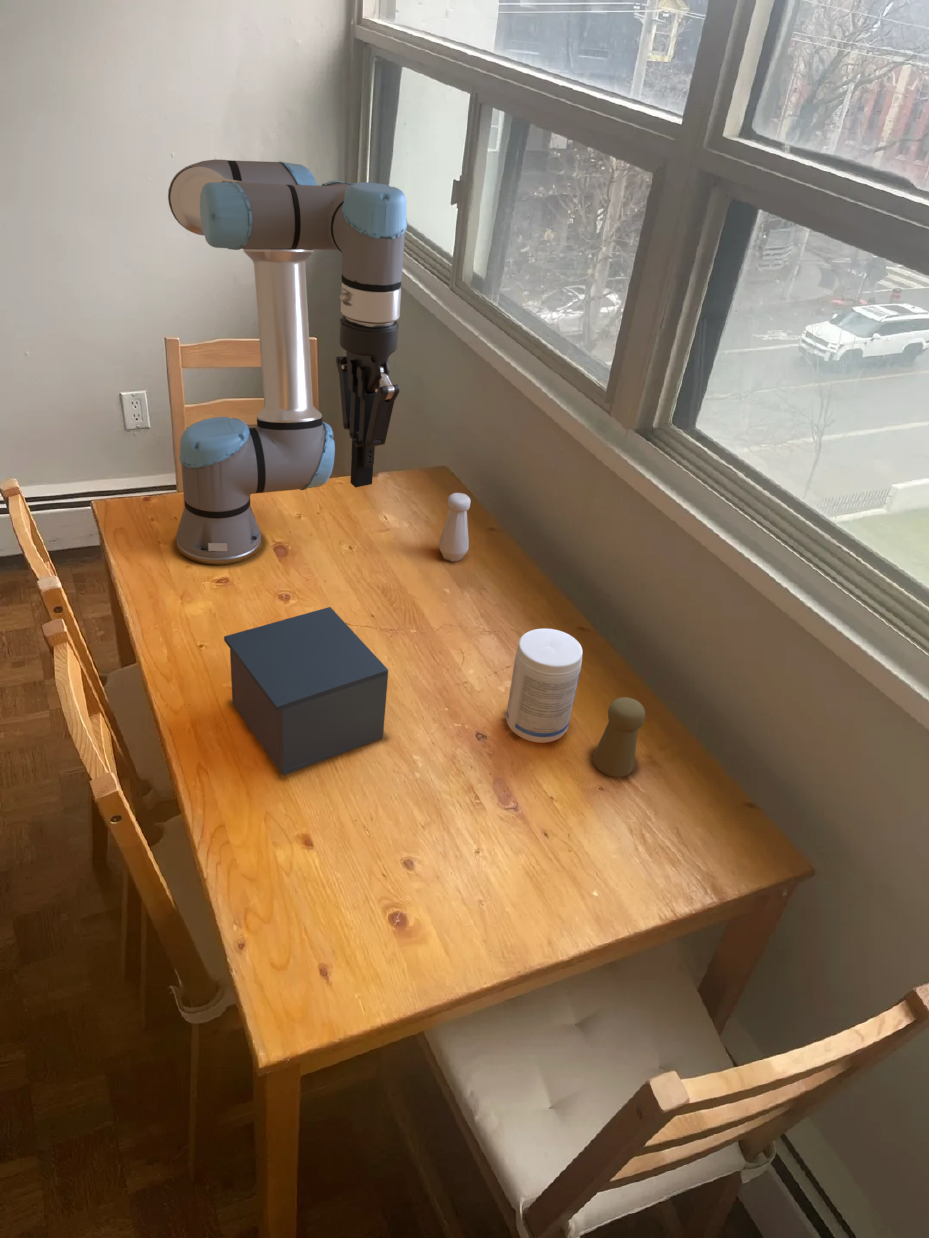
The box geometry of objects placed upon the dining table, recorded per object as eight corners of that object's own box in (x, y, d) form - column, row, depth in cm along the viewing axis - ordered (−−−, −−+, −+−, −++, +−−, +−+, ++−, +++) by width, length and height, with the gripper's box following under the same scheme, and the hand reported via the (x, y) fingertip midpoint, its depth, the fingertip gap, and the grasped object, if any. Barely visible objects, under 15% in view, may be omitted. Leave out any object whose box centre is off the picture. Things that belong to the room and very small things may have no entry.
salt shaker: (471, 562, 173) (480, 502, 166) (444, 565, 171) (451, 505, 164) (460, 547, 178) (468, 487, 170) (433, 549, 176) (439, 490, 168)
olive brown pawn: (585, 751, 133) (600, 694, 127) (621, 744, 135) (637, 688, 129) (604, 780, 129) (620, 722, 122) (641, 772, 131) (658, 715, 124)
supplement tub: (579, 733, 136) (598, 656, 128) (530, 753, 131) (546, 674, 123) (540, 696, 142) (556, 620, 134) (492, 714, 138) (505, 636, 129)
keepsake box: (282, 776, 122) (282, 709, 116) (232, 704, 133) (229, 639, 126) (383, 738, 131) (388, 674, 124) (328, 673, 141) (330, 611, 134)
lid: (276, 711, 115) (276, 706, 115) (223, 640, 126) (223, 636, 125) (388, 674, 124) (388, 669, 123) (330, 610, 134) (330, 606, 134)
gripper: (319, 304, 118) (316, 469, 131) (369, 337, 110) (360, 508, 123) (369, 300, 122) (361, 460, 135) (421, 331, 113) (407, 498, 127)
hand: (361, 483), depth 129 cm, fingers closed
